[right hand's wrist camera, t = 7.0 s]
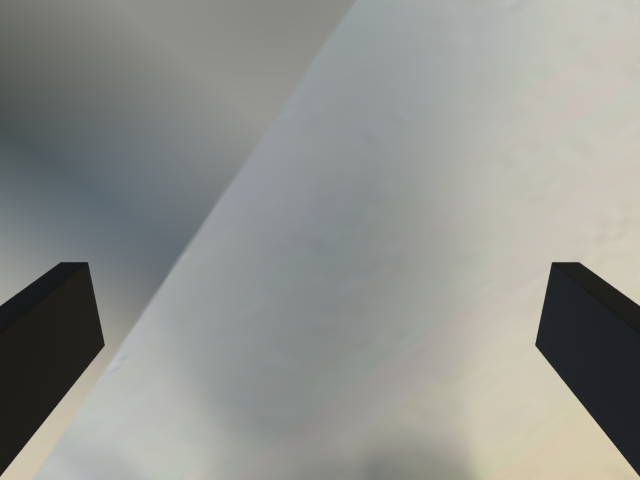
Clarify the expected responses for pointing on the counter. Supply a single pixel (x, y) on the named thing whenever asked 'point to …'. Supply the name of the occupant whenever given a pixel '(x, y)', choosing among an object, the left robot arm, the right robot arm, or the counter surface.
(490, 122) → the counter surface
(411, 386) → the counter surface
